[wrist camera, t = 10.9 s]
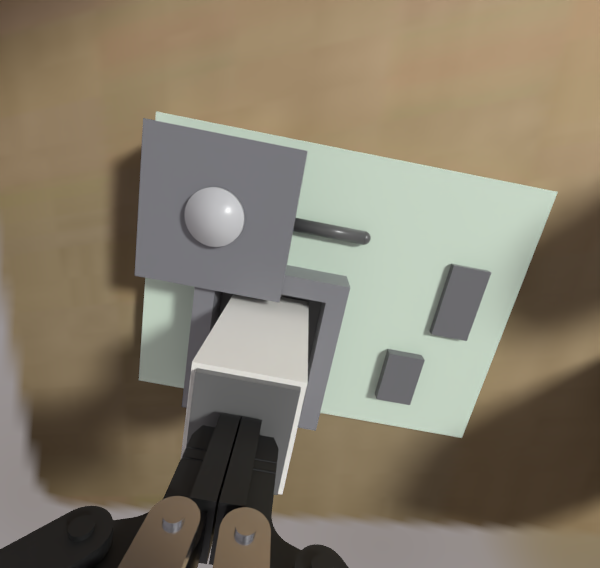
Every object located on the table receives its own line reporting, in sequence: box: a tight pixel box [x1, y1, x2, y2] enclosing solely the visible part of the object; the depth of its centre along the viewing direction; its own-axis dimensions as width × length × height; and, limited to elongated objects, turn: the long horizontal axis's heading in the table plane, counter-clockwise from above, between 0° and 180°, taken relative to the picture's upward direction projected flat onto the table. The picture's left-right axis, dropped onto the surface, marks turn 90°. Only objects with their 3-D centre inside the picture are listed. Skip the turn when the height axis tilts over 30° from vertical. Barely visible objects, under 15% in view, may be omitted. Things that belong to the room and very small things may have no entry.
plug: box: [181, 294, 309, 495], centre depth 17 cm, size 6×4×8 cm
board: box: [139, 112, 558, 438], centre depth 20 cm, size 15×20×3 cm
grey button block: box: [135, 118, 371, 303], centre depth 18 cm, size 7×11×3 cm, turn 79°
